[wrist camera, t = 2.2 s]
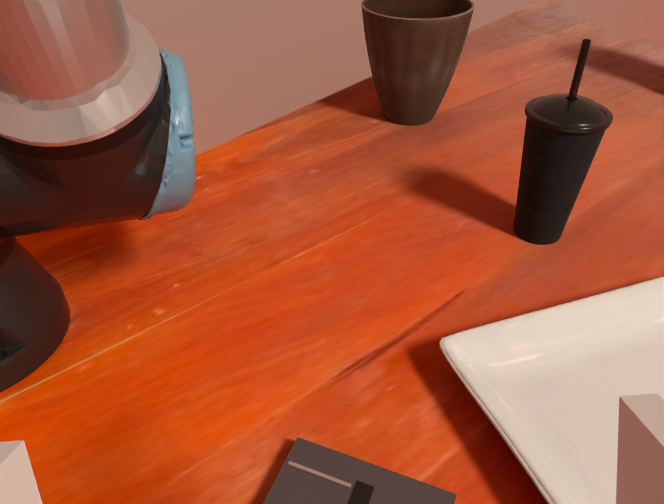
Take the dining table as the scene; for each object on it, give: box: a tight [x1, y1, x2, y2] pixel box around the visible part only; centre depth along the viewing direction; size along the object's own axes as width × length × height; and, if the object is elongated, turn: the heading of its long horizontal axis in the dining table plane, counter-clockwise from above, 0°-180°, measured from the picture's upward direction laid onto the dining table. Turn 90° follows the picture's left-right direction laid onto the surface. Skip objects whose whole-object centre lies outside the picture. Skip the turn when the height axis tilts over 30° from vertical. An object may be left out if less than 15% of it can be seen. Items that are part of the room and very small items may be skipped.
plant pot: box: [362, 0, 474, 125], centre depth 79 cm, size 15×15×16 cm
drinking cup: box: [514, 39, 613, 244], centre depth 54 cm, size 8×8×20 cm
